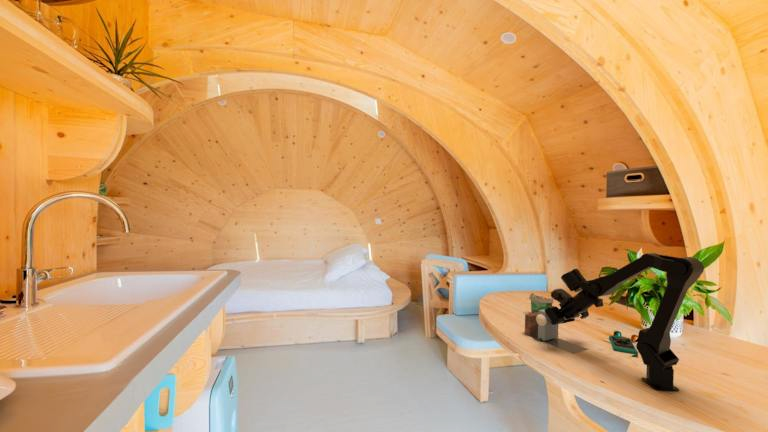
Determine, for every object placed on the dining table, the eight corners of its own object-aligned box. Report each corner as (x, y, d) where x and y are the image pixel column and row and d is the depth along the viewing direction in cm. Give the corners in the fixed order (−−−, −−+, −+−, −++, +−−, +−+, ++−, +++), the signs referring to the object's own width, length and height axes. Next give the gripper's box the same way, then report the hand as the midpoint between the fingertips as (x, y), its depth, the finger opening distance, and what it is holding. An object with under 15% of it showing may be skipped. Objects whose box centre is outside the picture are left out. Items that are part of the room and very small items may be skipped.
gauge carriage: (559, 338, 134) (560, 310, 134) (542, 342, 129) (543, 313, 129) (546, 333, 139) (547, 306, 139) (530, 337, 134) (531, 309, 134)
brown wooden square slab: (543, 332, 140) (543, 313, 140) (529, 336, 137) (530, 316, 137) (538, 330, 143) (538, 312, 142) (524, 333, 139) (525, 314, 139)
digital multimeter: (630, 344, 133) (631, 337, 133) (638, 359, 120) (638, 350, 120) (608, 341, 136) (608, 333, 136) (613, 354, 123) (613, 346, 123)
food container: (523, 313, 170) (523, 293, 170) (532, 312, 172) (532, 292, 172) (544, 321, 159) (544, 299, 158) (553, 319, 161) (553, 298, 161)
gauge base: (588, 352, 124) (588, 349, 124) (570, 357, 120) (571, 354, 119) (536, 332, 144) (536, 329, 144) (519, 336, 139) (520, 333, 139)
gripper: (581, 281, 131) (555, 302, 141) (549, 285, 123) (523, 308, 133) (602, 306, 125) (572, 327, 135) (569, 313, 116) (541, 334, 126)
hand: (552, 323), depth 132 cm, fingers closed
